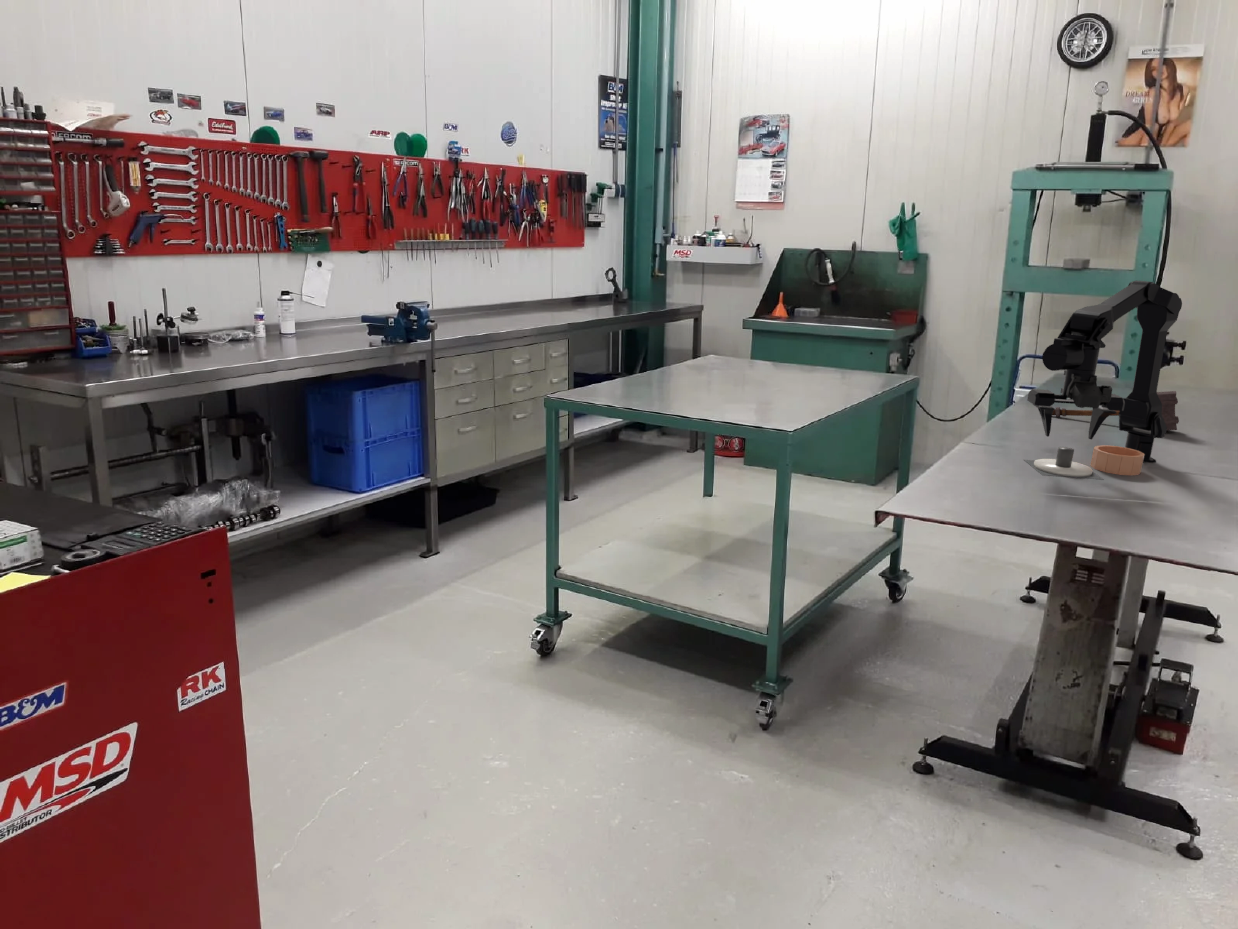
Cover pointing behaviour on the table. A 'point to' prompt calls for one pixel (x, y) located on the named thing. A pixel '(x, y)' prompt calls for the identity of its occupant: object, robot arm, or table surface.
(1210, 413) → the table surface
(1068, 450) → the lid
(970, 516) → the table surface
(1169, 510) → the table surface
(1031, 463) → the mat
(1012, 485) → the table surface
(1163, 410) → the hammer
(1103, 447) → the bowl
